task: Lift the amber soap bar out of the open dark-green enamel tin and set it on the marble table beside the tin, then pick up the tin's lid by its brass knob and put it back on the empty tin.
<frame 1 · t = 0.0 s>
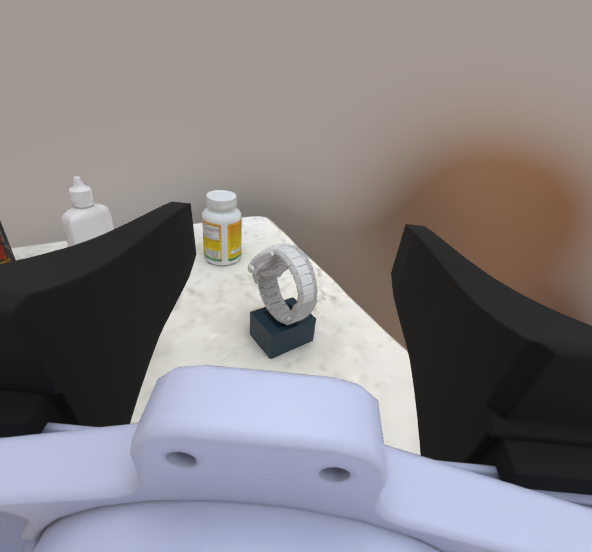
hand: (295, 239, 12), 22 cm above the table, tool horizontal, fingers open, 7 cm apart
eye dropper bottle: (98, 265, 49), on the table
supplement bottle: (223, 258, 54), on the table
watch: (280, 338, 40), on the table
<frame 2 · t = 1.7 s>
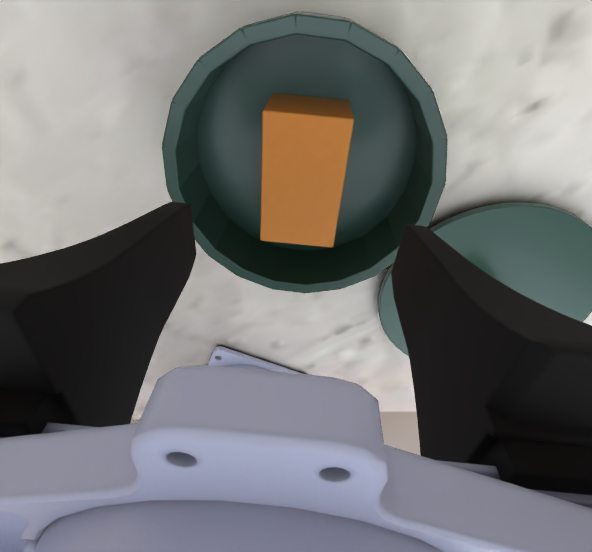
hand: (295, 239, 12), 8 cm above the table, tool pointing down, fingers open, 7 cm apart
soap: (305, 160, 19), resting on tin
tin: (305, 157, 19), on the table
tin lid: (483, 297, 23), point 1 cm above the table
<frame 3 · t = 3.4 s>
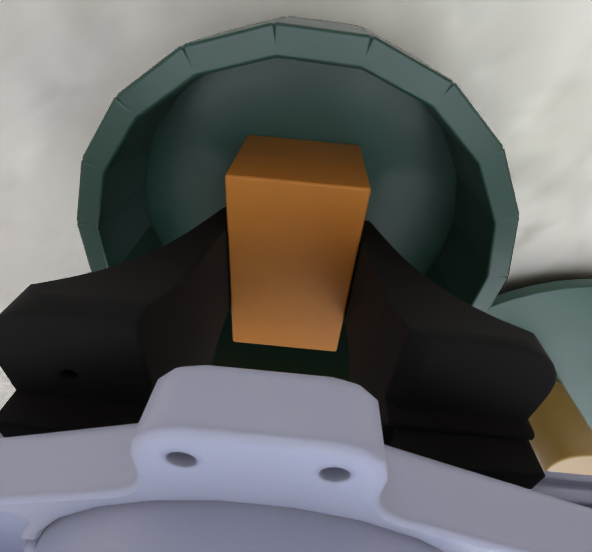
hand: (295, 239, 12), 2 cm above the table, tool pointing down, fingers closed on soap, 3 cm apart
soap: (296, 222, 13), resting on tin, touching gripper
tin: (298, 217, 14), on the table
tin lid: (531, 384, 18), point 1 cm above the table
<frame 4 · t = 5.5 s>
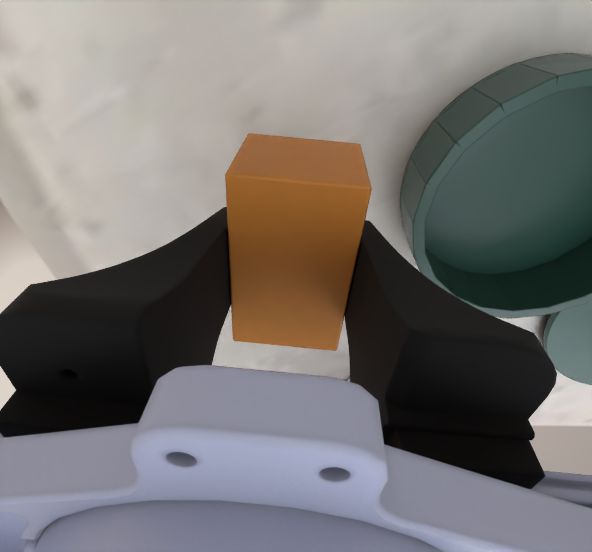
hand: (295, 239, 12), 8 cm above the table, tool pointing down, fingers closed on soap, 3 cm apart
soap: (297, 221, 13), point 7 cm above the table, touching gripper
tin: (517, 186, 19), on the table
when the fingers open (1 cm above the table, at t = 7.8 s): soap stays where it is, on the table.
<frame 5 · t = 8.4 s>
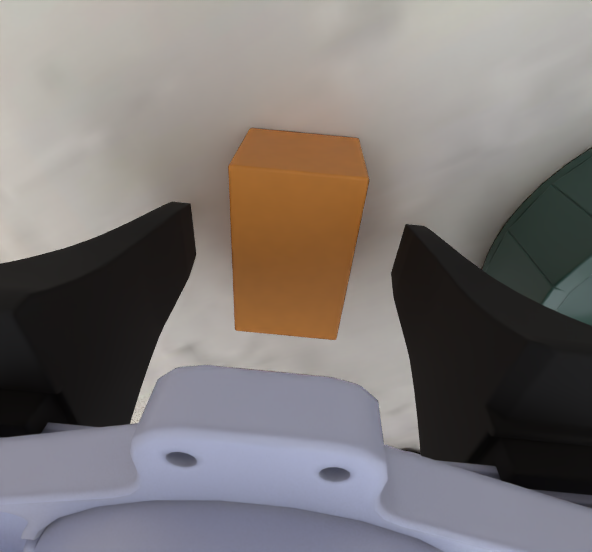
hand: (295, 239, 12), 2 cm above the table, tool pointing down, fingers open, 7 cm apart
soap: (297, 214, 14), on the table
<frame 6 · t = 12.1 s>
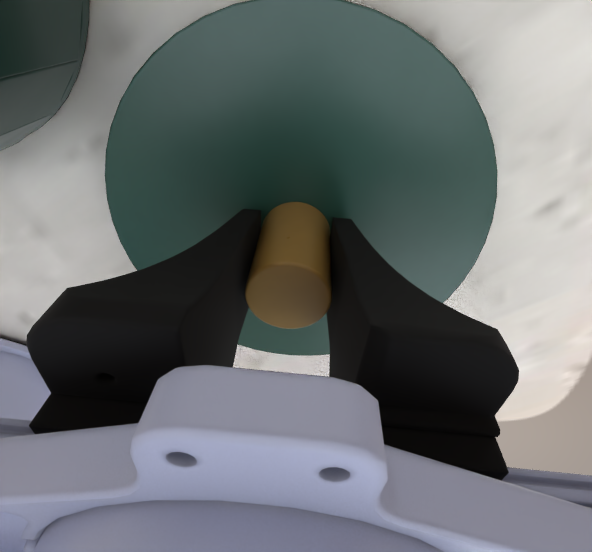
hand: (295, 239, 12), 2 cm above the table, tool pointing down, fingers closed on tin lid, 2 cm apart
tin lid: (296, 225, 13), point 1 cm above the table, touching gripper
when the fingers open (5 cm above the table, at t = 15.9 s): tin lid stays where it is, resting on tin.
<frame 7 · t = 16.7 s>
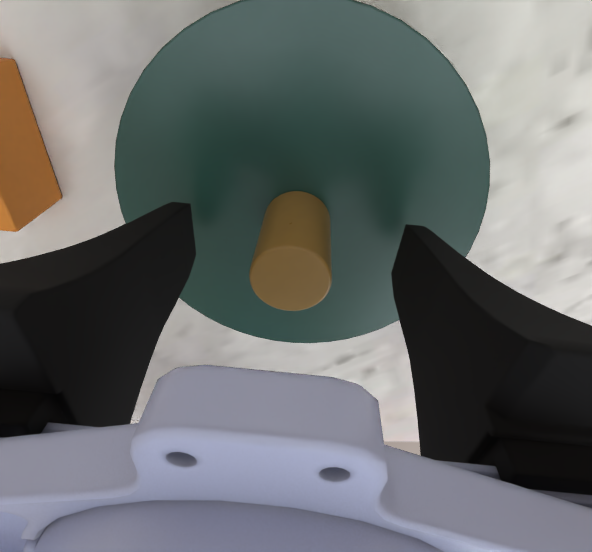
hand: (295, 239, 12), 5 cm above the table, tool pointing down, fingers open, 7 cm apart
soap: (2, 132, 16), on the table
tin lid: (298, 214, 14), point 4 cm above the table, touching tin
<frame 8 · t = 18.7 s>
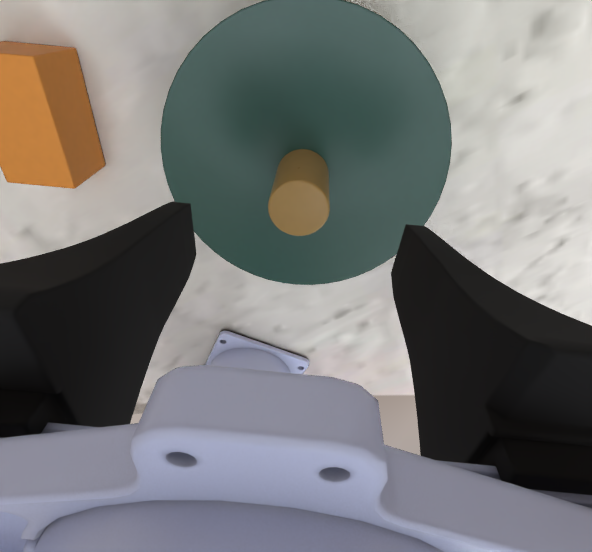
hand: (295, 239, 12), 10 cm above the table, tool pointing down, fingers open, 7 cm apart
soap: (59, 109, 20), on the table
tin lid: (303, 170, 17), point 4 cm above the table, touching tin
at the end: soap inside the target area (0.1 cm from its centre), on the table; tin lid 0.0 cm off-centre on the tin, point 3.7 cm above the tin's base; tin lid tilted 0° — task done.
